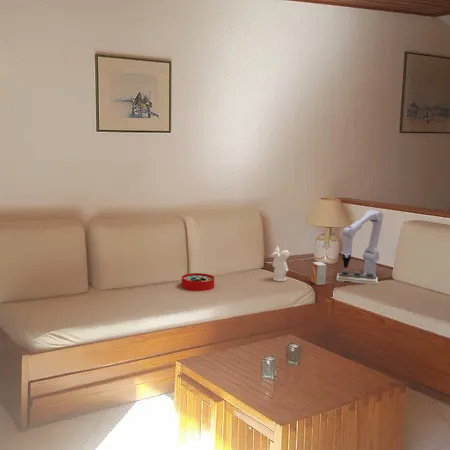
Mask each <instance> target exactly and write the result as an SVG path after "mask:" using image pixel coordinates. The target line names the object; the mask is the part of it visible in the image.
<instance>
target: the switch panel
mask: <svg viewBox="0 0 450 450" xmlns="http://www.w3.org/2000/svg"><path fill="white" fill-rule="evenodd" d="M363 274H364V273H361V275H358V274H354V273H351V272H348V274H347V273H342V271H339V272H338V273H337V275H336V278H335V279H336V280H337V282H344V281H351V282H350V283H355V284H356V283H359V284H368V285H378V284H379V281H378V280H379V279H378V276H377V275H376V276H374V275H373V276H369V275H363ZM336 280H335V281H336Z"/></svg>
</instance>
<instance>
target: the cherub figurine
mask: <svg viewBox="0 0 450 450" xmlns="http://www.w3.org/2000/svg"><path fill="white" fill-rule="evenodd" d="M290 255H291V254H290V252H289V250H287V249H284V250H282V251H281V252H280V247H279V246H278V245H277V244H276V245H275V248H274V251H273V253H271V254H270V257H271V258H273V262H272V267H273V268H274V269H273V273H274V277H273V278H272V280H273V281H275V282H287V279H288V278H286V274H287V272H289V267H288V264H287V261H286V260H287V259H288V258H289V257H290Z"/></svg>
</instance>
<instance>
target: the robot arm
mask: <svg viewBox="0 0 450 450" xmlns="http://www.w3.org/2000/svg"><path fill="white" fill-rule="evenodd" d="M383 219H384V214H383V212H382V211H378V210H374V209H368V210H366V211H365V214H364V215H363V216H362V217H361V218H360V219H359V220H356V221H353V223H351V224H350V225H348V226H346V227H345V228H343V230H342V232H341V234H342V238H343V244H342V251H340V254H342V256H341V258H342V262H343V268H346V269H347V268H349V263H350V260H352V257H351V256H352V249H353V240H354V239H353V238H354V237H355V235H356V233H357V232H358V231H359V230H361V229H362V226H363V225H365V224H366V223H367V222H369V221H370V222H371V223H372V229H371V233H370V238H369V242H368V247H366V248H365V250H364V252H363V254H362V259H363V261H364V270H363V273H362V274H363V275H367V272H368V273H373V275H374V276H376V277H377V275H376V268H377V267H376V266H377V263H378V261H379V259H380V251H379V250H378V244H379V240H380V233H381V229H382V224H383Z"/></svg>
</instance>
